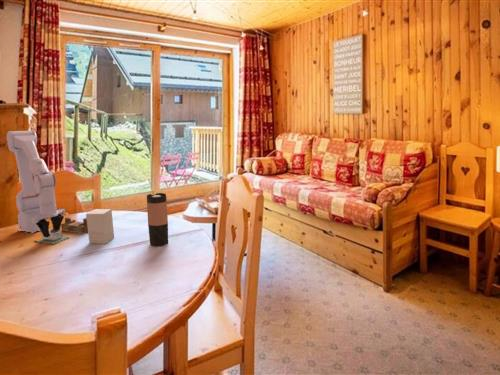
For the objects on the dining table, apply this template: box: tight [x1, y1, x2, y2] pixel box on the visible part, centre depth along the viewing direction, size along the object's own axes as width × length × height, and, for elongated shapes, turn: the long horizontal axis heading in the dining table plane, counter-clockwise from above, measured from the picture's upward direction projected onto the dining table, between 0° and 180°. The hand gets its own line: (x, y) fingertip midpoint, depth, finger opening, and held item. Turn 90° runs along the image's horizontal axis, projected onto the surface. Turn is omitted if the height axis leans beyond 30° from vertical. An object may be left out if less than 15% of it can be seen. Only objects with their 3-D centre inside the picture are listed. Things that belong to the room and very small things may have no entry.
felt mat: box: [36, 235, 70, 245], centre depth 142 cm, size 10×8×1 cm
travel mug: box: [146, 192, 169, 247], centre depth 137 cm, size 8×8×20 cm
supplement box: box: [85, 208, 115, 245], centre depth 141 cm, size 7×7×13 cm
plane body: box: [60, 217, 88, 234], centre depth 154 cm, size 13×5×6 cm, turn 72°
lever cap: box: [40, 228, 63, 241], centre depth 142 cm, size 6×4×4 cm
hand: (51, 234), depth 142 cm, fingers closed on lever cap, 4 cm apart
